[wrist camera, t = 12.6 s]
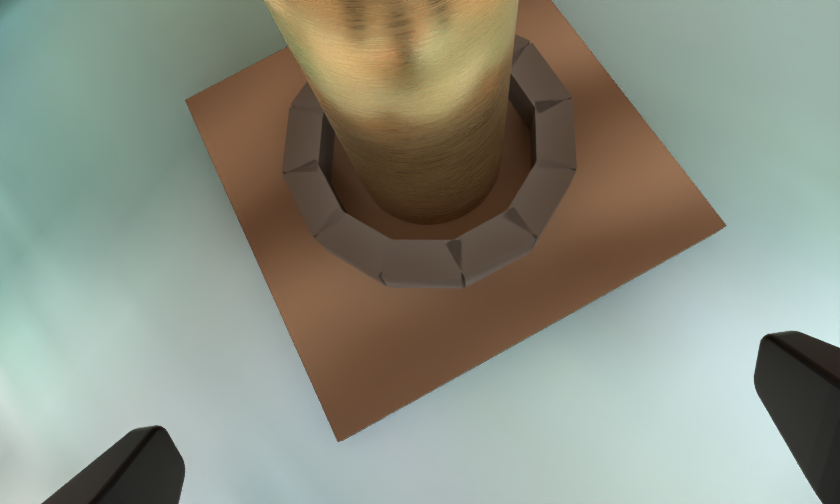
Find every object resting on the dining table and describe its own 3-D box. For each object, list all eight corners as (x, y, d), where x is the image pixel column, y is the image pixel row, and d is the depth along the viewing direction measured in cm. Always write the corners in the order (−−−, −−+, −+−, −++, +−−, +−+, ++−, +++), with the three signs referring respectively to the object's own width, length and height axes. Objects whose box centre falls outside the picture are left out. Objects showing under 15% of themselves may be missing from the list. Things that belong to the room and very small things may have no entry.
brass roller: (470, 245, 17) (452, -187, 4) (336, 196, 18) (5, -270, 5) (521, 118, 18) (630, -529, 5) (393, 78, 19) (229, -546, 6)
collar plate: (715, 233, 17) (751, 209, 15) (344, 439, 16) (324, 447, 14) (499, -48, 21) (502, -100, 18) (196, 111, 20) (161, 77, 18)
